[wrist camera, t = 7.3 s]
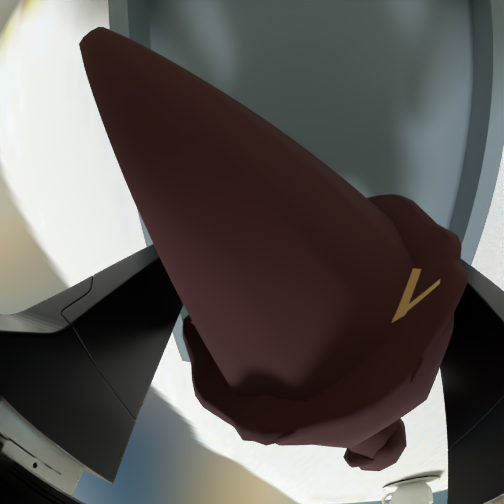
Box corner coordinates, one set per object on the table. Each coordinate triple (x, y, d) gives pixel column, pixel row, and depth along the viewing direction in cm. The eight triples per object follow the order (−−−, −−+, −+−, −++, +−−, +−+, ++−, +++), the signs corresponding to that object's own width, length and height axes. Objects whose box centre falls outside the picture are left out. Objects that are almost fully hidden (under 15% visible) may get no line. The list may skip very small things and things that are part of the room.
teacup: (448, 470, 31) (449, 495, 27) (428, 485, 36) (428, 507, 32) (389, 478, 33) (389, 505, 29) (377, 491, 39) (375, 514, 35)
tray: (480, -14, 6) (504, -21, 4) (410, 353, 16) (414, 380, 15) (135, -21, 8) (107, -29, 6) (192, 336, 19) (182, 360, 17)
